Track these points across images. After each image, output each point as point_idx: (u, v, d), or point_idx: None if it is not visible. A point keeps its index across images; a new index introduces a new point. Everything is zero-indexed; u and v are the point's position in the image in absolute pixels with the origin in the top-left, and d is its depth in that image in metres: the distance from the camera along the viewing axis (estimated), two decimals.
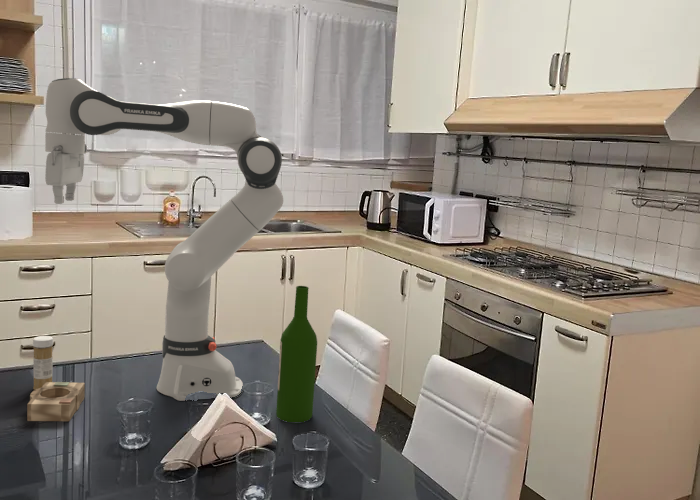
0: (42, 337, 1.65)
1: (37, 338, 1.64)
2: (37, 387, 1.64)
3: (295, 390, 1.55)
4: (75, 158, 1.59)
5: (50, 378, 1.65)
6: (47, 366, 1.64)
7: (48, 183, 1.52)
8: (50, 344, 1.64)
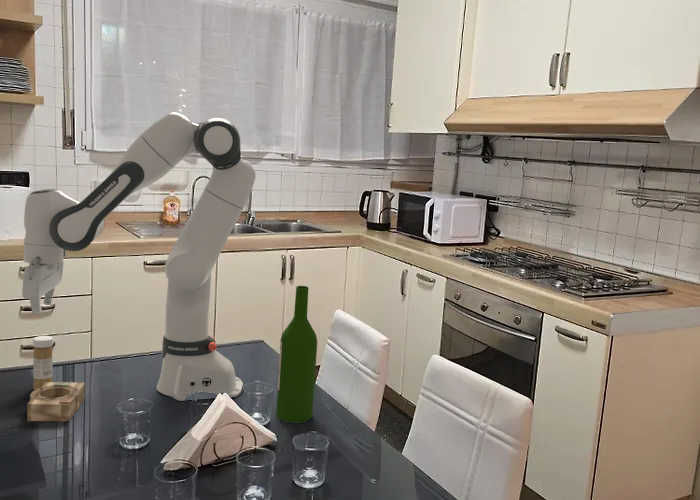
0: (42, 337, 1.65)
1: (37, 338, 1.64)
2: (37, 387, 1.64)
3: (295, 390, 1.55)
4: (53, 267, 1.61)
5: (50, 378, 1.65)
6: (47, 366, 1.64)
7: (25, 297, 1.53)
8: (50, 344, 1.64)
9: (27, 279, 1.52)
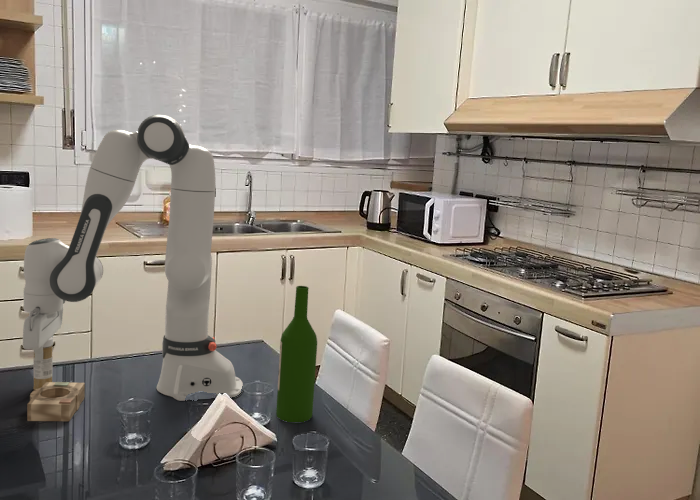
0: None
1: None
2: (37, 387, 1.64)
3: (295, 390, 1.55)
4: (53, 315, 1.62)
5: (50, 378, 1.65)
6: (47, 366, 1.64)
7: (25, 348, 1.55)
8: (50, 344, 1.64)
9: (27, 330, 1.54)
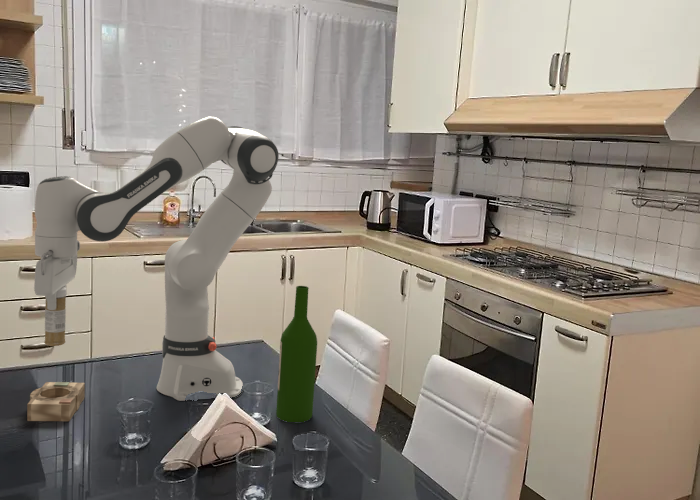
0: None
1: None
2: (49, 341, 1.50)
3: (295, 390, 1.55)
4: (67, 261, 1.49)
5: (63, 332, 1.52)
6: (60, 318, 1.50)
7: (37, 294, 1.41)
8: (63, 294, 1.50)
9: (39, 274, 1.40)
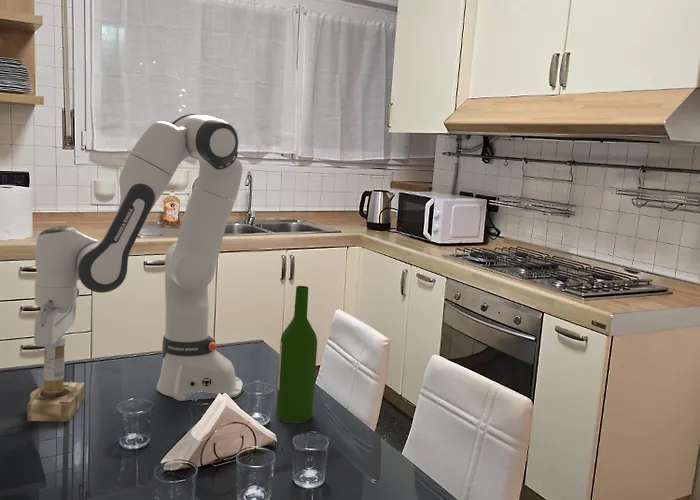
0: None
1: None
2: (47, 389, 1.52)
3: (295, 390, 1.55)
4: (66, 310, 1.50)
5: (61, 380, 1.53)
6: (59, 367, 1.52)
7: (37, 345, 1.42)
8: (62, 343, 1.52)
9: (39, 325, 1.42)
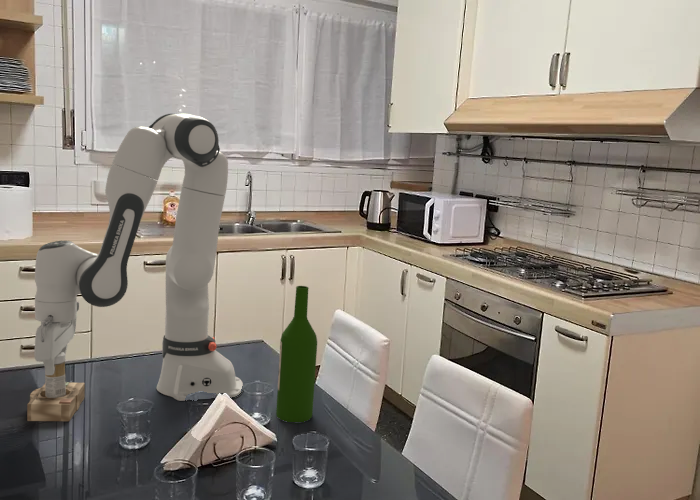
0: None
1: None
2: None
3: (295, 390, 1.55)
4: (66, 324, 1.51)
5: None
6: (60, 384, 1.53)
7: (37, 360, 1.43)
8: (62, 360, 1.52)
9: (39, 341, 1.42)
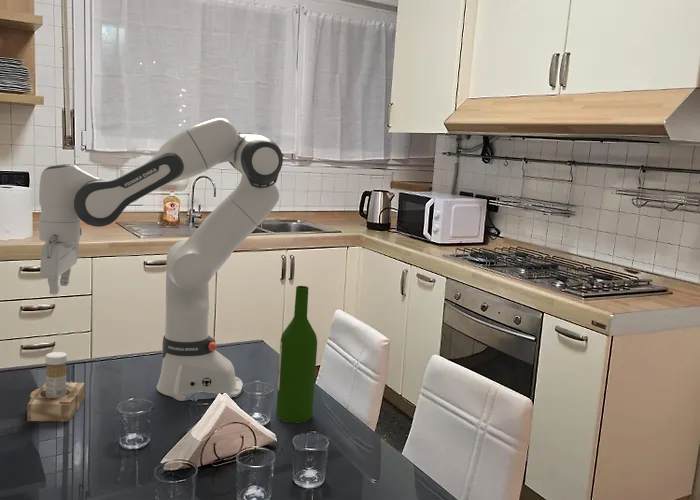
0: (55, 353, 1.53)
1: (50, 355, 1.52)
2: None
3: (295, 390, 1.55)
4: (70, 245, 1.54)
5: None
6: (61, 384, 1.53)
7: (43, 276, 1.46)
8: (64, 361, 1.52)
9: (45, 257, 1.46)
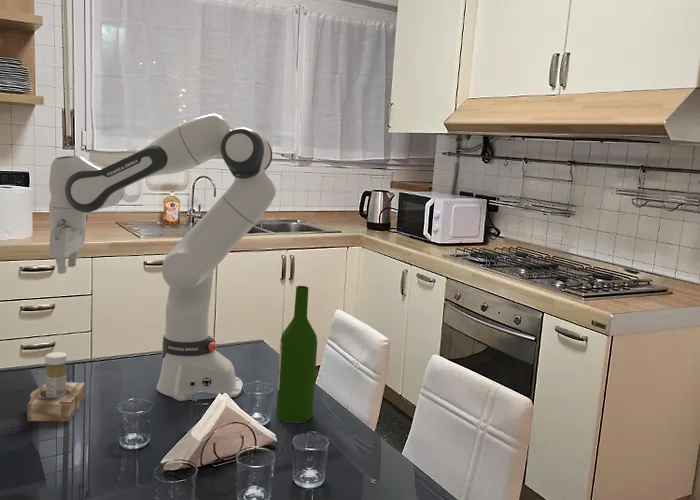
0: (55, 353, 1.53)
1: (50, 355, 1.52)
2: None
3: (295, 390, 1.55)
4: (77, 230, 1.70)
5: None
6: (61, 384, 1.53)
7: (52, 256, 1.62)
8: (64, 361, 1.52)
9: (53, 239, 1.61)
